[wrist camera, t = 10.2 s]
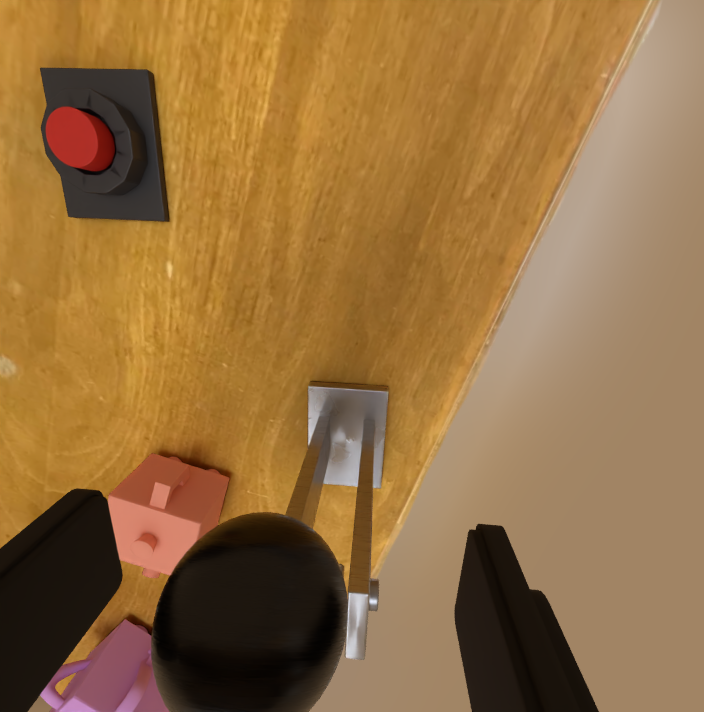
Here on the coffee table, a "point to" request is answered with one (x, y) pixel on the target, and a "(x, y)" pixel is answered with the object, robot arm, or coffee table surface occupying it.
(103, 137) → the button
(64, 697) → the teapot
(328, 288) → the coffee table surface
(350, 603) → the lever stand
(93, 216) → the button block
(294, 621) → the lever
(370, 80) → the coffee table surface
